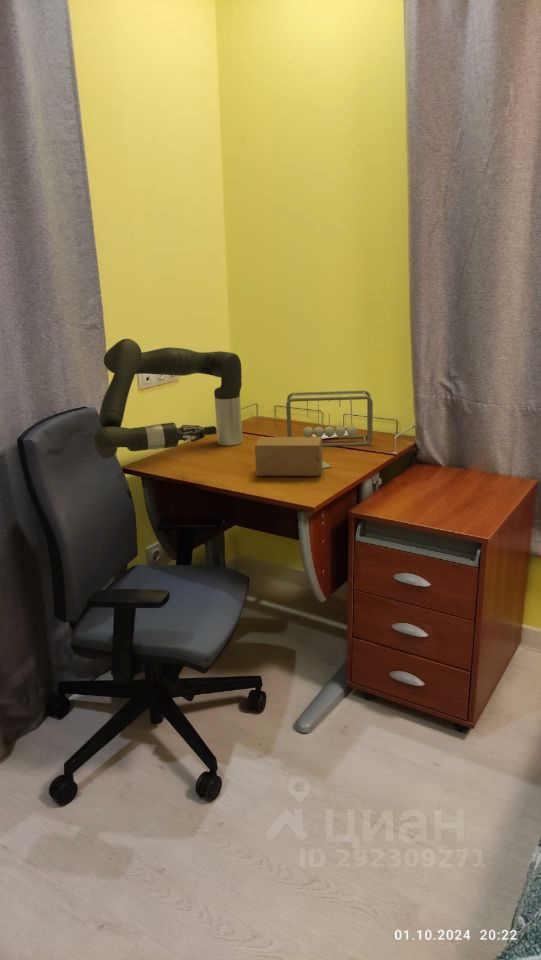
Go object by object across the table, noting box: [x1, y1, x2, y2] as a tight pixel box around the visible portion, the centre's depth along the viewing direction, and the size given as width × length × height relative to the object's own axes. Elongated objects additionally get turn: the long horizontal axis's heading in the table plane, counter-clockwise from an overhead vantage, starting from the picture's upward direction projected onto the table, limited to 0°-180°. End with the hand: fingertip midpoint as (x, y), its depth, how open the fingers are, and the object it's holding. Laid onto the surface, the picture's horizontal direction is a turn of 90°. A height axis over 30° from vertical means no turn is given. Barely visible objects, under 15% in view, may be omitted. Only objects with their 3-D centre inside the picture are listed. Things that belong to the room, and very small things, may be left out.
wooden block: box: [254, 436, 323, 477], centre depth 223 cm, size 10×10×20 cm
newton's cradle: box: [285, 390, 374, 447], centre depth 253 cm, size 30×10×18 cm, turn 87°
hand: (215, 429), depth 220 cm, fingers closed
